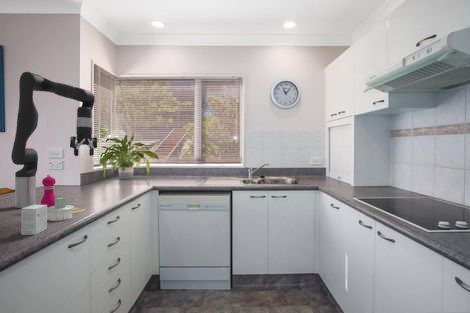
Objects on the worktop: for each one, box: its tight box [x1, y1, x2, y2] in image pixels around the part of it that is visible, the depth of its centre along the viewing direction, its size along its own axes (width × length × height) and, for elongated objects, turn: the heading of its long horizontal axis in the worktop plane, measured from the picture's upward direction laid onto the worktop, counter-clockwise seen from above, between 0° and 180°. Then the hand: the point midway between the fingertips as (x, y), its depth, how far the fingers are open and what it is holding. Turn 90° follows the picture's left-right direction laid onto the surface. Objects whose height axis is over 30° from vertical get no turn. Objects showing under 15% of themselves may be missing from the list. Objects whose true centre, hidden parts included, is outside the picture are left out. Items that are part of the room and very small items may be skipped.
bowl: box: [47, 210, 73, 222], centre depth 131 cm, size 10×10×5 cm
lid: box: [47, 197, 75, 212], centre depth 131 cm, size 12×12×5 cm
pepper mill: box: [40, 173, 57, 208], centre depth 147 cm, size 7×7×20 cm
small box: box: [20, 204, 48, 236], centre depth 113 cm, size 8×6×10 cm
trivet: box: [72, 206, 87, 214], centre depth 146 cm, size 12×12×1 cm
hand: (84, 155), depth 151 cm, fingers open, 8 cm apart
